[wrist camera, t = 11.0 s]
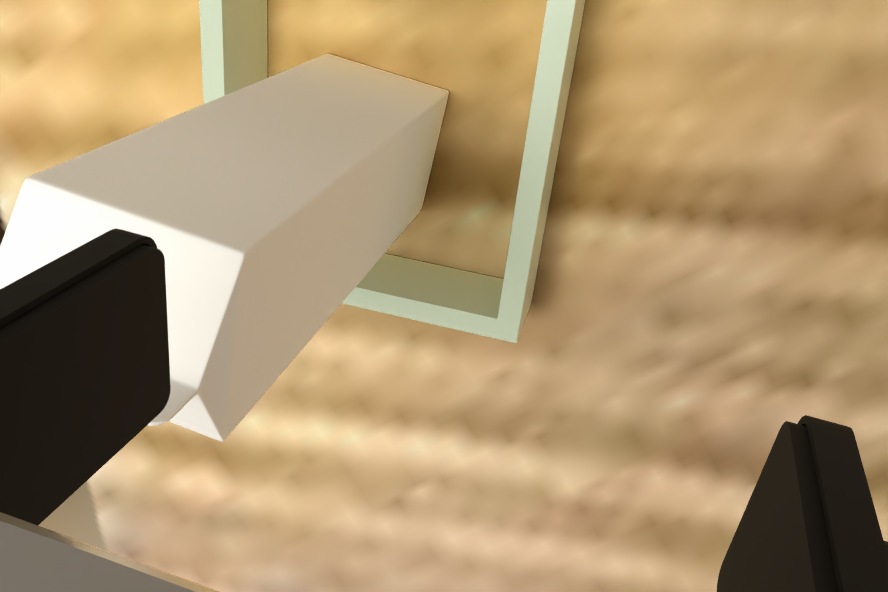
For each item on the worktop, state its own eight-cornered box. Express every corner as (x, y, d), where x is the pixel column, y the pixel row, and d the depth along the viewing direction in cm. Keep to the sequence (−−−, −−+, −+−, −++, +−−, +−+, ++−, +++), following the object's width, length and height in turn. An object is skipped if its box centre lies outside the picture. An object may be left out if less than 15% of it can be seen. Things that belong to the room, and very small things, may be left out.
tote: (634, -271, 27) (627, -298, 24) (531, 303, 38) (516, 343, 34) (242, -301, 30) (185, -329, 26) (250, 242, 41) (210, 273, 37)
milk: (327, 51, 35) (-93, 212, 16) (453, 90, 34) (168, 308, 15) (308, 175, 38) (-66, 435, 19) (423, 213, 37) (154, 525, 18)
